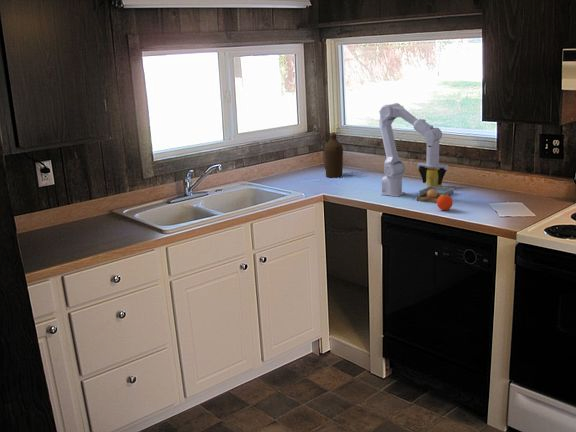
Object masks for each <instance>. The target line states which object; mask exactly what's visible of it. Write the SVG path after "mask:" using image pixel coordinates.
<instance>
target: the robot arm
mask: <svg viewBox="0 0 576 432" xmlns="http://www.w3.org/2000/svg"><path fill="white" fill-rule="evenodd" d="M378 112H379V121H378V122H379V123H378V124H379V129H380V132H381V138H382V143H383V149H384V152H385V156H386V159H385V161H384V163H383V165H384V168H383V173H384V176H383V177H382V179H381V193H380V194H381V195H382V196H391V197H400V196H403V195H404V194H406V192H403V174H404V173H405V171H406V167H405V164H404V163H403V161H402V158H401V157H400V156H398V150H397V146H396V141H395V135H394V132H393V126H392V124H393V122H394V121H395V120H396V119H397V118H401V119H402V120H403V121H406V123H409V124H411V125H412V126H413V130H414V131H416V132H417V133H419V134H420V135H422V136H423V137H424V140H425V143H426V144H425V145H426V159H425V161H426V162H421V161H420V162H417V166H416V167H417V168H418V172H419V174H420V176H421V180H422V183H423V184H427V182H426V175H427V168H436V169H440V170H437V172H438V185H440V184H441V183H442V184H443V181H442V179H443V180H444V177H445V176H444V174H445V175H446V172H447V170H449V164H444V163H440V140H441V138H442V137H443V133H442V130H441V129H440V128H439V127H434V125H431V124H430V123H428V122H427V121H426V119H424V118H423V119H422V118H420V119H418V118H416V116H414V114H411V113H410V111H408V110H406V108H405V107H404V106H403V105H401V104H400V103H398V102H395V103H391V104H384V105H382V106H381V107H380V109H379V111H378ZM381 195H380V196H381Z"/></svg>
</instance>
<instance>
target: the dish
mask: <svg viewBox="0 0 576 432" xmlns="http://www.w3.org/2000/svg"><path fill="white" fill-rule="evenodd" d="M430 189H435V190H436V191H437V194H440V195H449V196H450V195H452V194H454V188H453V187H447V186H446V187H444V186H441V187H436V186H429V187H427V186H426V187H425V188H422V189H420V190H419V193H418V194H419V195H418V196H420V195H422V194H424V193H427V192H428V190H430Z"/></svg>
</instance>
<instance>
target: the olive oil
mask: <svg viewBox="0 0 576 432" xmlns="http://www.w3.org/2000/svg"><path fill="white" fill-rule="evenodd" d="M329 137H330V138H329V140H328V142H327V143H326V144H325V145H324V149H323V153H324V154H323V155H324V169H325V177H326V178H329V179H331V178H332V179H338V178H342V177H343V166H344V163H343V160H344V157H343V156H344V148H343V145H342V144H341V143H340V141H339V140H338V139H337V132H335V131H332V132H330V133H329Z"/></svg>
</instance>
